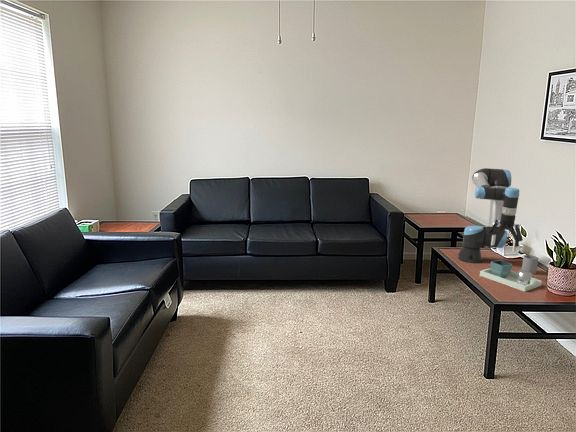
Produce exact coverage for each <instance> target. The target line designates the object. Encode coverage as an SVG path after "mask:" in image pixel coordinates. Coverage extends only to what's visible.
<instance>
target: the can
mask: <svg viewBox="0 0 576 432" xmlns="http://www.w3.org/2000/svg"><path fill="white" fill-rule="evenodd" d="M517 273H518V275H517V281H516V283H518V284H521V285H524V286H525V285H528V284H530V281H531V277H532V275H533V274H532V273H531V272H529V271H526V270H521V269H519V270H518V271H517Z"/></svg>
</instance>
